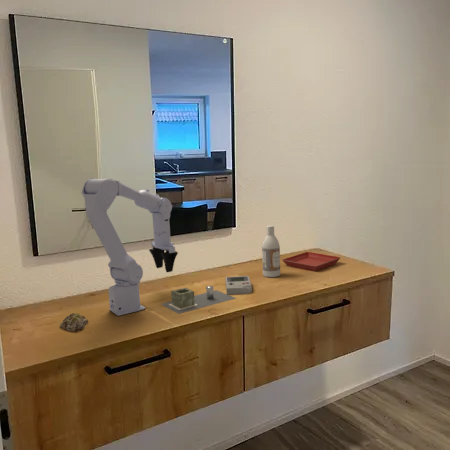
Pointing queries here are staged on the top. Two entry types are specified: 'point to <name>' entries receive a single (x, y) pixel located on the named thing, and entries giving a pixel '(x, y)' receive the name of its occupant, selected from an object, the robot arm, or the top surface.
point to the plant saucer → (311, 261)
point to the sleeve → (182, 297)
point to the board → (201, 302)
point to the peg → (209, 292)
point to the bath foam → (271, 254)
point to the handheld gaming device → (238, 285)
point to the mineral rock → (74, 322)
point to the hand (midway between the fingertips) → (164, 269)
